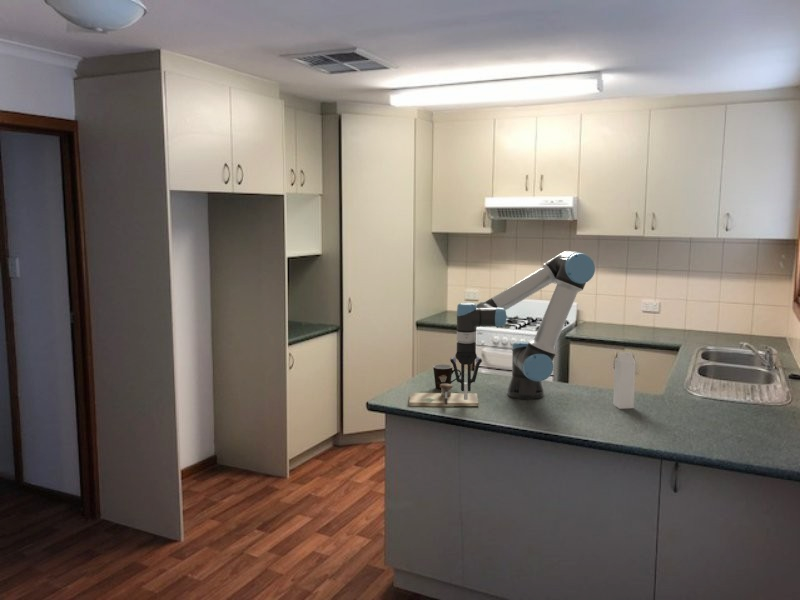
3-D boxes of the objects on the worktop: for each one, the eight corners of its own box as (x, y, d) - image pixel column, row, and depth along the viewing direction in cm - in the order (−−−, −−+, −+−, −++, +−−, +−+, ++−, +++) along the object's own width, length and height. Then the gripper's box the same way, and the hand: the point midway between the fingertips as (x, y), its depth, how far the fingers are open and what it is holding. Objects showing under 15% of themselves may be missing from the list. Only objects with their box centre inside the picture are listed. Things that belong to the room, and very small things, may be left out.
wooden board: (476, 396, 276) (476, 393, 276) (478, 406, 262) (478, 402, 262) (410, 396, 278) (410, 392, 278) (409, 405, 264) (409, 402, 264)
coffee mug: (430, 389, 288) (429, 367, 286) (438, 385, 295) (438, 363, 294) (454, 392, 282) (454, 370, 281) (461, 388, 290) (461, 366, 288)
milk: (633, 408, 258) (636, 354, 255) (619, 409, 258) (621, 354, 255) (627, 403, 264) (629, 350, 261) (612, 404, 264) (615, 351, 261)
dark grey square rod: (452, 393, 275) (452, 383, 274) (452, 405, 259) (452, 394, 258) (439, 393, 275) (439, 383, 275) (439, 404, 259) (439, 394, 258)
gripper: (449, 343, 257) (449, 401, 260) (483, 343, 256) (482, 401, 259) (449, 339, 264) (449, 396, 267) (482, 339, 263) (481, 396, 266)
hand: (465, 398), depth 263 cm, fingers closed
